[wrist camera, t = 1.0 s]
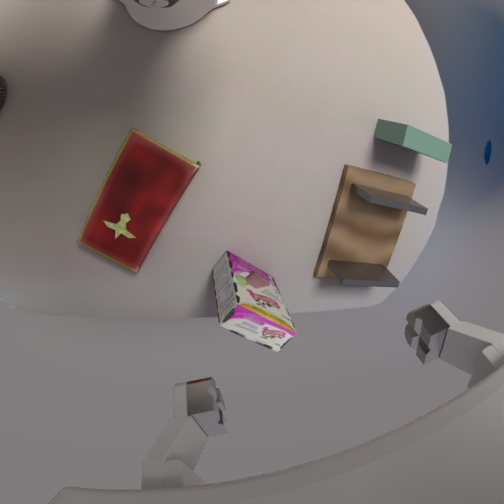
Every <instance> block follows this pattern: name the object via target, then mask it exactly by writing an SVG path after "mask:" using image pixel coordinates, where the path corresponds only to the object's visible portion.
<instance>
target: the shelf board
mask: <svg viewBox="0 0 504 504" xmlns="http://www.w3.org/2000/svg"><path fill="white" fill-rule="evenodd" d="M352 183H354V184H359V185H363V186H367V187H372V188H376V189H380V190H384V191H388V192H392V193H396V194H400V195H404V196H407V197H409V198H411V199H412V195H413V192H414V189H415V186H416V184H414V183H412V182H409V181H406V180H403V179H399V178H396V177H392V176H389V175H385V174H381V173H378V172H374V171H370V170H366V169H362V168H358V167H354V166H350V165H346V164H345V166H344V170H343V174H342V178H341V182H340V185H339V189H338V193H337V197H336V200H335V204H334V207H333V211H332V215H331V218H330V222H329V225H328V229H327V232H326V235H325V239H324V242H323V245H322V249H321V252H320V255H319V259H318V262H317V265H316V268H315V271H314V274H315V275H316V277H323V278H337V277H336V276H335V275H334V273H333V272H332V271H331V269H330V268H329V266H328V262H329V260H340V261H351V262H362V263H373V264H383V265H384V266H385V267H386V268H387V266H388V264H389V261H390V258H391V256H392V253H393V251H394V248H395V245H396V242H397V240H398V237H399V234H400V231H401V229H402V226H403V223H404V220H405V217H406V214H407V210H402V209H398V208H393V207H389V206H384V205H379V204H375V203H370V202H368V201H367V200H365V199H364V198H362V197H361V196H359V195H358V194H356V193H355V192H353V191H352V190H350V189H351V185H352Z"/></svg>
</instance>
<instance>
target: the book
mask: <svg viewBox="0 0 504 504" xmlns="http://www.w3.org/2000/svg"><path fill="white" fill-rule="evenodd" d="M374 137H376V138H379V139H382V140H385V141H388V142H391V143H394V144H396V145H399V146H402V147H405V148H408V149H410V150H413V151H416V152H418V153H420V154H423V155H426V156H429V157H431V158H434V159H437V160H439V161H442V162H444V163H448V159H449V155H450V151H451V147H452V144H450V143H447V142H445V141H443V140H441V139H439V138H436V137H434V136H432V135H430V134H428V133H425V132H423V131H421V130H418V129H416V128H414V127H411V126H409V125H405V124H401V123H396V122H391V121H386V120H381V119H378V123H377V127H376V131H375V135H374Z"/></svg>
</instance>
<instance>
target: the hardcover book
mask: <svg viewBox="0 0 504 504" xmlns="http://www.w3.org/2000/svg"><path fill="white" fill-rule="evenodd" d="M200 166H201V163H200V162H199V161H197V163H195V162H194V161H192V160H190V159H189V158H187V157H185V156H184V155H182V154H180V153H178V152H177V151H175V150H173V149H171V148H170V147H168V146H166V145H165V144H163V143H161V142H159V141H157V140H156V139H154V138H152V137H150V136H149V135H147V134H145V133H143V132H141V131H140V130H138V129H137V130H136V129H134V128H132V129H131V131H130V133H129V134H128V136H127V138H126V140H125V141H124V143H123V145H122V147H121V149H120V151H119V153H118V154H117V156H116V158H115V160H114V162H113V164H112V166H111V168H110V170H109V172H108V174H107V176H106V178H105V180H104V182H103V184H102V186H101V188H100V190H99V193H98V195H97V197H96V199H95V201H94V203H93V206H92V208H91V210H90V212H89V215H88V217H87V219H86V222H85V224H84V227H83V229H82V232H81V234H80V236H79V239H78V243H80V244H81V245H83V246H85V247H87V248H89V249H91V250H93V251H94V252H96V253H98V254H100V255H102V256H104V257H106V258H108V259H110V260H112V261H114V262H116V263H118V264H120V265H122V266H124V267H126V268H127V269H129V270H131V271H133V272H138V270H139V269H140V267H141V265H142V263H143V261H144V259H145V258H146V256H147V254H148V252H149V250H150V249H151V247H152V245H153V243H154V241H155V240H156V238H157V236H158V234H159V233H160V231H161V229H162V228H163V226H164V224H165V222H166V221H167V219H168V217H169V216H170V214H171V212H172V211H173V209H174V207H175V206H176V204H177V202H178V201H179V199H180V197H181V196H182V194H183V193H184V191H185V189H186V188H187V186H188V185H189V183H190V181H191V180H192V178H193V177H194V175H195V174H196V172H197V170H198V169H199V167H200Z"/></svg>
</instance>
